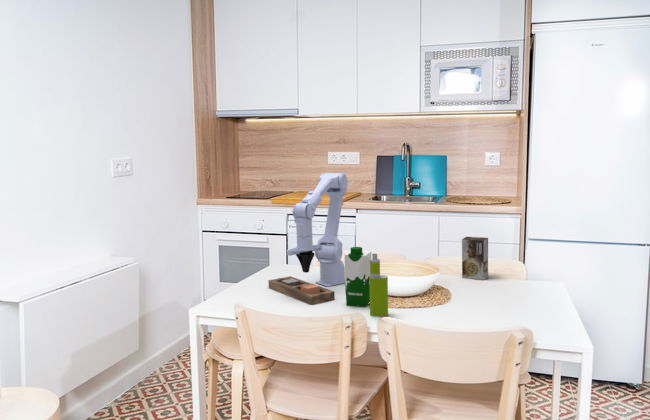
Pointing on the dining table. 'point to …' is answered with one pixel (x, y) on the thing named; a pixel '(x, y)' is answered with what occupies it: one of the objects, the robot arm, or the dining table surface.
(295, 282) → the silver metal block
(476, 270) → the coffee box
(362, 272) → the milk carton
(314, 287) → the salmon pink cube
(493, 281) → the dining table surface
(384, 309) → the vape
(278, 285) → the brown ladder-shaped frame
